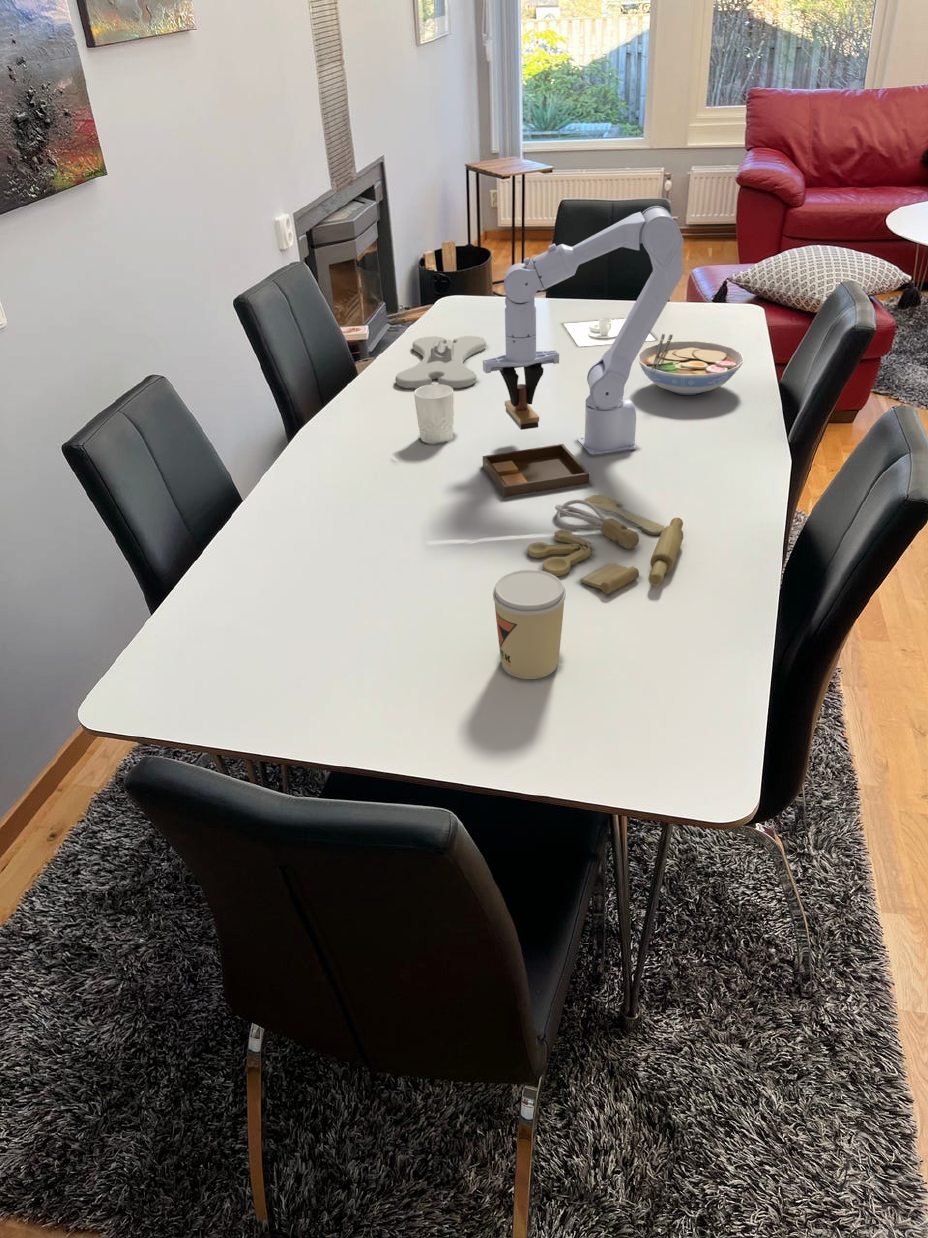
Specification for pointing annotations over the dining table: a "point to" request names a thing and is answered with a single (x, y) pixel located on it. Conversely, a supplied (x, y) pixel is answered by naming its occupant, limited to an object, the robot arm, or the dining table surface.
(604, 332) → the teacup and saucer
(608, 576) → the toy baking set
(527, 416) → the wooden stamp
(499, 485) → the tray
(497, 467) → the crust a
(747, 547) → the dining table surface
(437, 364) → the holder
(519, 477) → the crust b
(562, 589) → the lidded cream canister
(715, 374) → the ramen bowl
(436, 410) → the white cup
